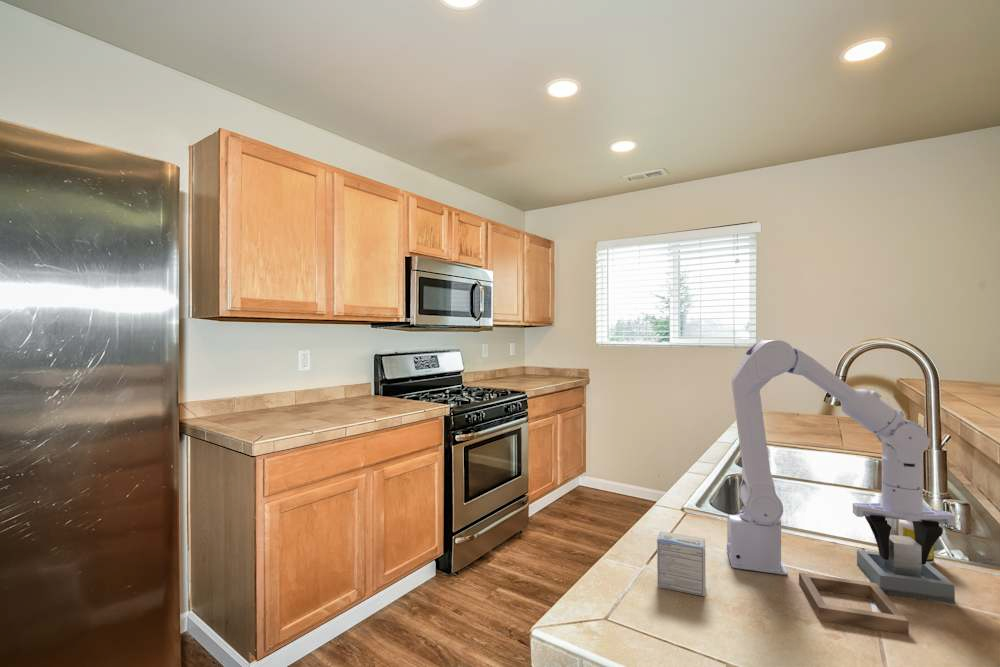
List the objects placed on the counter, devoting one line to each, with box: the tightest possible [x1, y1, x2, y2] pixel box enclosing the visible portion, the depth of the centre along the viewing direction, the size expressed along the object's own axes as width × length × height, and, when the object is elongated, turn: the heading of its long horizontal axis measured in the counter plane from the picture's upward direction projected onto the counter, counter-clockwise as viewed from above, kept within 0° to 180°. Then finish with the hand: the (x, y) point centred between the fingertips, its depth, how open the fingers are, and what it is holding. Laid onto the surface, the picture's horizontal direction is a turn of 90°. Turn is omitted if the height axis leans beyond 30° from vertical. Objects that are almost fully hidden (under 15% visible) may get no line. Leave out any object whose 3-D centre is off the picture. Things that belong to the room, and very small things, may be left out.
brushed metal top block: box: [884, 534, 922, 578], centre depth 86 cm, size 4×4×7 cm
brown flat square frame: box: [798, 572, 910, 635], centre depth 79 cm, size 12×12×2 cm
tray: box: [856, 549, 956, 604], centre depth 86 cm, size 10×10×3 cm
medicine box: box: [656, 530, 707, 597], centre depth 85 cm, size 8×4×9 cm, turn 65°
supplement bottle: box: [898, 519, 935, 565], centre depth 96 cm, size 5×5×10 cm
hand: (902, 559), depth 86 cm, fingers open, 5 cm apart
